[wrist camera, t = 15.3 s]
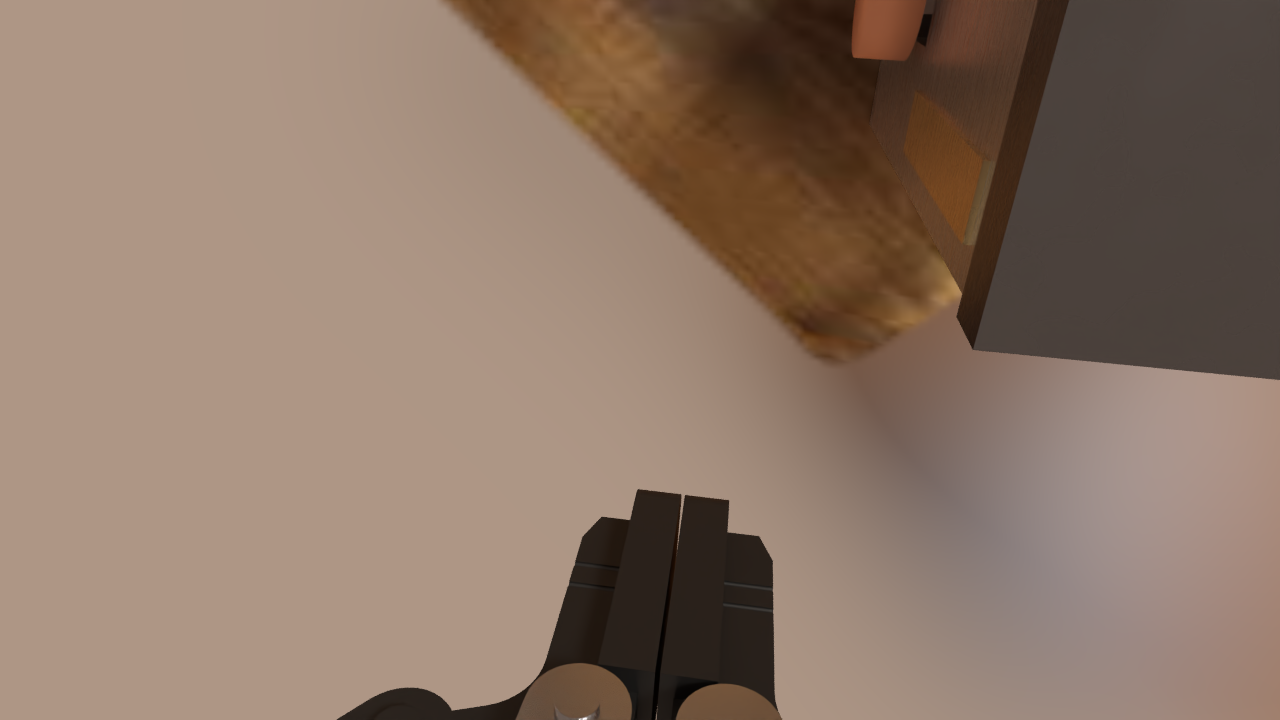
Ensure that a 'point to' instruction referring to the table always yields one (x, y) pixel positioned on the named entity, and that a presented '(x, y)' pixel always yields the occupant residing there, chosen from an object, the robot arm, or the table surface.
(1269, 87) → the dispenser
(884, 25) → the plunger
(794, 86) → the table surface
